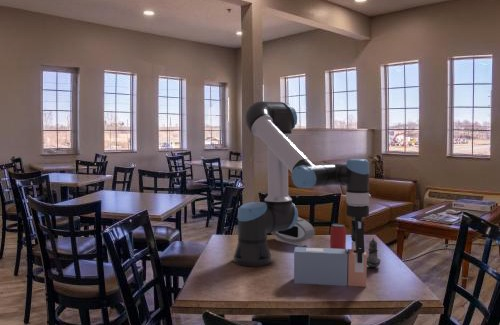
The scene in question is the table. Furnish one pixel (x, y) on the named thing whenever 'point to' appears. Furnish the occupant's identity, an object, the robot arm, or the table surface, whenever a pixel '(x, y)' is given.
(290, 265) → the table surface
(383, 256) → the table surface
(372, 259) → the dark rounded upright piece
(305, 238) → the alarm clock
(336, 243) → the beer can
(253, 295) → the table surface
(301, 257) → the gray rectangular box
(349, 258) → the stub
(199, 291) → the table surface
